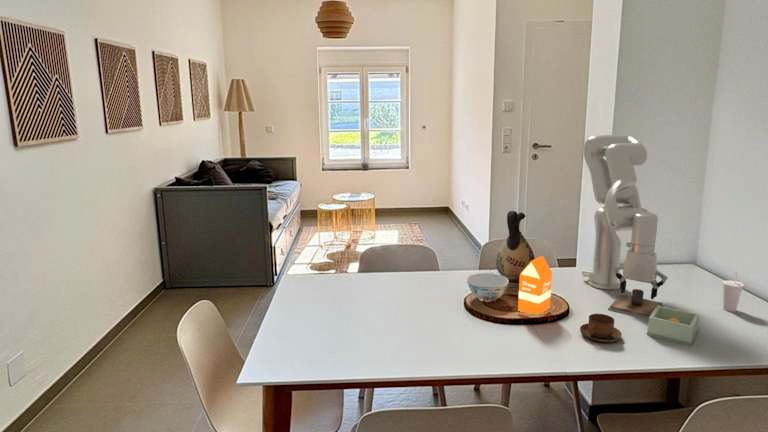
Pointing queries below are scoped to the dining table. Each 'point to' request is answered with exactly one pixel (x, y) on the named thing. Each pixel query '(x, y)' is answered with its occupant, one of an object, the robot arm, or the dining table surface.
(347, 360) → the dining table surface
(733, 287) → the smoothie
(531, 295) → the orange juice
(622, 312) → the mat
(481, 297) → the chinaware
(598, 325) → the cup and saucer
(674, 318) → the clementine
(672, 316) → the dish
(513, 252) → the ceramic jug
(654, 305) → the lid
